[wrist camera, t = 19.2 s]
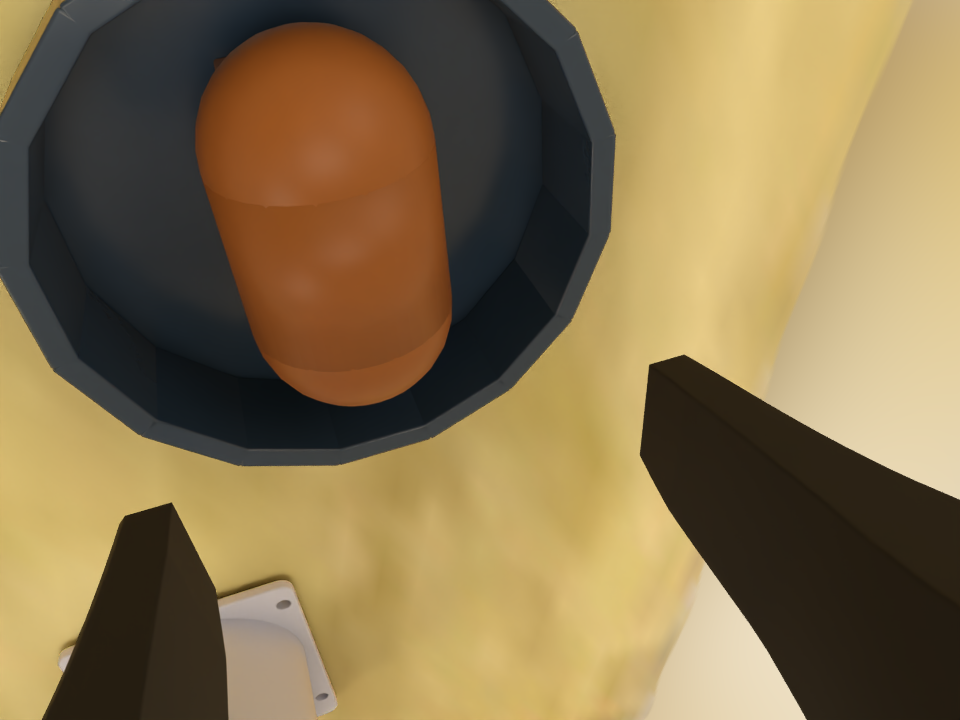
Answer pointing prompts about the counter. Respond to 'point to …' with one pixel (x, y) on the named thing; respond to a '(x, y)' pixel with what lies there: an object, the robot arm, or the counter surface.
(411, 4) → the pot
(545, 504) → the counter surface
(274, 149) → the orange capsule
